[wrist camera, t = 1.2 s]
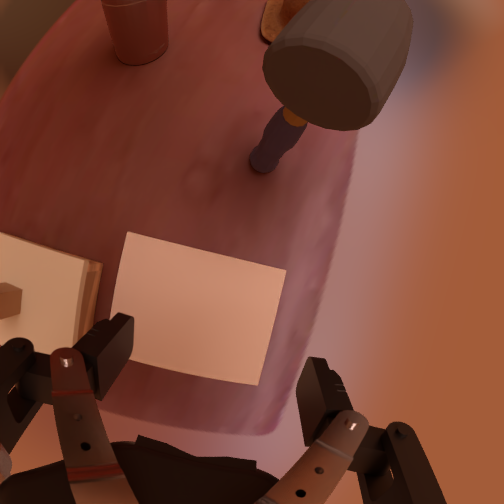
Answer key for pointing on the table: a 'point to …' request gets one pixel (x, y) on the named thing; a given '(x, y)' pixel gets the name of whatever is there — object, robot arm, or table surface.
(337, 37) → the rubber mallet
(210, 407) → the table surface
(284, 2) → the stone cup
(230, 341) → the mat
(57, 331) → the lid
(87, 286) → the wooden box
